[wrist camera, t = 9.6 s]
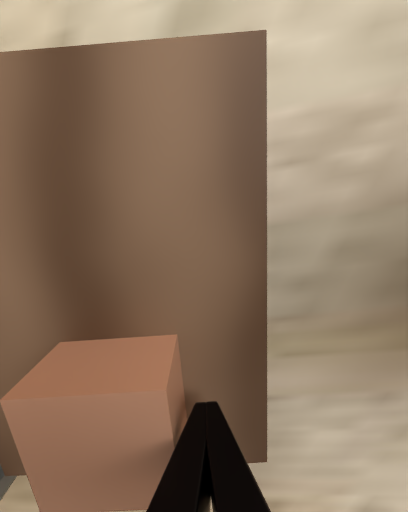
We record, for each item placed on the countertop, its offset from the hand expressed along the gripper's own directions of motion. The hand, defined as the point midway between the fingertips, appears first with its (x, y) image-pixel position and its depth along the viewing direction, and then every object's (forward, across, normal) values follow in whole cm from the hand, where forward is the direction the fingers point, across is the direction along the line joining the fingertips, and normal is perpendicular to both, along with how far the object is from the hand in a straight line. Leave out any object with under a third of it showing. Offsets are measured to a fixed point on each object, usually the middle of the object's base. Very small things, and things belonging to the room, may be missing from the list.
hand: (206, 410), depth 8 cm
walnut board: (+4, +4, -4) cm, 6 cm away
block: (+1, +3, 0) cm, 3 cm away
